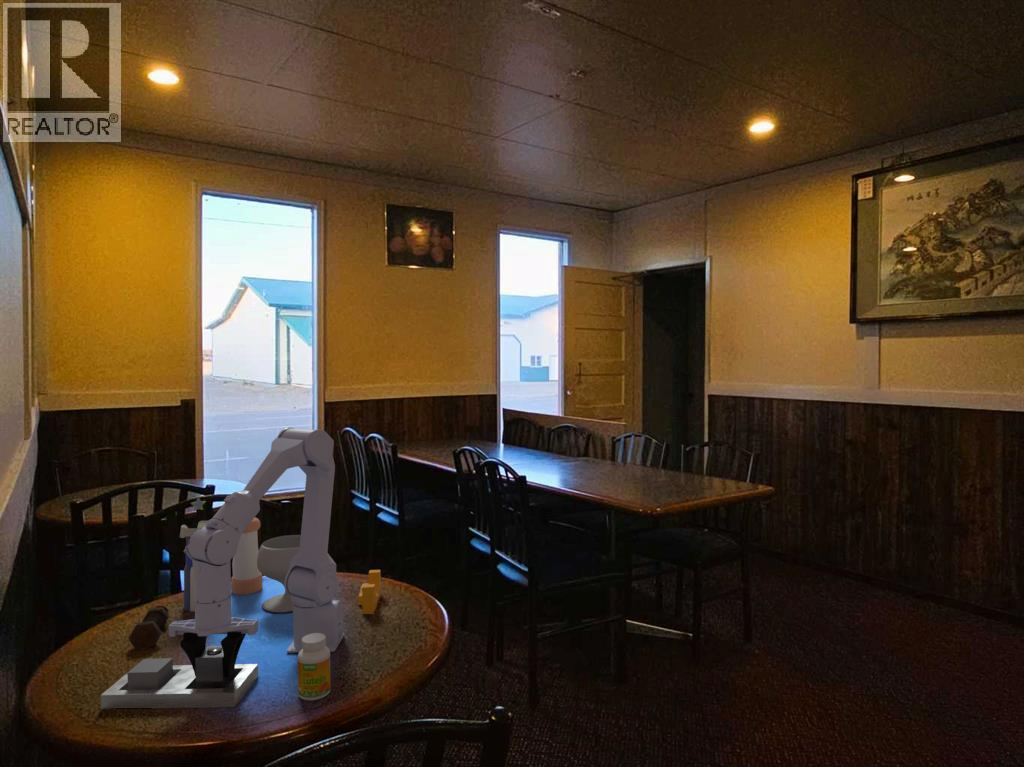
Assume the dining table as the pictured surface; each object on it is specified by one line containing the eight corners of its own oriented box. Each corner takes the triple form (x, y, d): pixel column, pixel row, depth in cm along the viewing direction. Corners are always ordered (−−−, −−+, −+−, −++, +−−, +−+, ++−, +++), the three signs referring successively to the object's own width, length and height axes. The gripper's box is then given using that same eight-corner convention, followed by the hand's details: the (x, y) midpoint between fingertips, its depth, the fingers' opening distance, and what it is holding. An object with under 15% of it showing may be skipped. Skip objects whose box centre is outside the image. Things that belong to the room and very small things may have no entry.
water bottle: (173, 607, 147) (170, 501, 147) (208, 596, 154) (206, 495, 154) (191, 615, 143) (189, 506, 142) (227, 603, 150) (224, 499, 149)
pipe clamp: (363, 596, 154) (362, 570, 154) (380, 595, 154) (380, 569, 154) (354, 615, 142) (354, 587, 142) (374, 615, 142) (373, 587, 142)
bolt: (164, 628, 140) (148, 655, 126) (142, 619, 139) (123, 645, 125) (178, 603, 141) (164, 628, 127) (156, 595, 140) (139, 618, 126)
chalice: (279, 591, 157) (278, 532, 157) (330, 595, 154) (329, 534, 154) (245, 613, 143) (243, 548, 143) (300, 617, 141) (299, 551, 140)
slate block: (173, 686, 111) (172, 658, 111) (158, 701, 106) (157, 672, 106) (144, 686, 111) (144, 658, 111) (128, 701, 106) (127, 672, 106)
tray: (258, 676, 114) (257, 663, 114) (234, 706, 104) (234, 692, 104) (136, 679, 114) (135, 666, 114) (100, 709, 104) (100, 695, 104)
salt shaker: (261, 593, 156) (259, 516, 156) (229, 596, 154) (227, 519, 153) (263, 583, 163) (262, 510, 163) (233, 586, 161) (231, 512, 160)
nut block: (233, 678, 111) (233, 643, 111) (222, 692, 107) (222, 655, 107) (207, 679, 111) (207, 644, 111) (196, 692, 107) (195, 656, 106)
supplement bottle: (299, 704, 105) (298, 647, 104) (296, 689, 110) (295, 634, 109) (332, 697, 107) (331, 641, 107) (328, 682, 112) (327, 629, 112)
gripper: (158, 607, 104) (160, 687, 105) (245, 605, 105) (247, 685, 105) (179, 591, 111) (181, 667, 112) (261, 590, 112) (263, 665, 112)
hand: (214, 674), depth 109 cm, fingers closed on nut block, 4 cm apart
